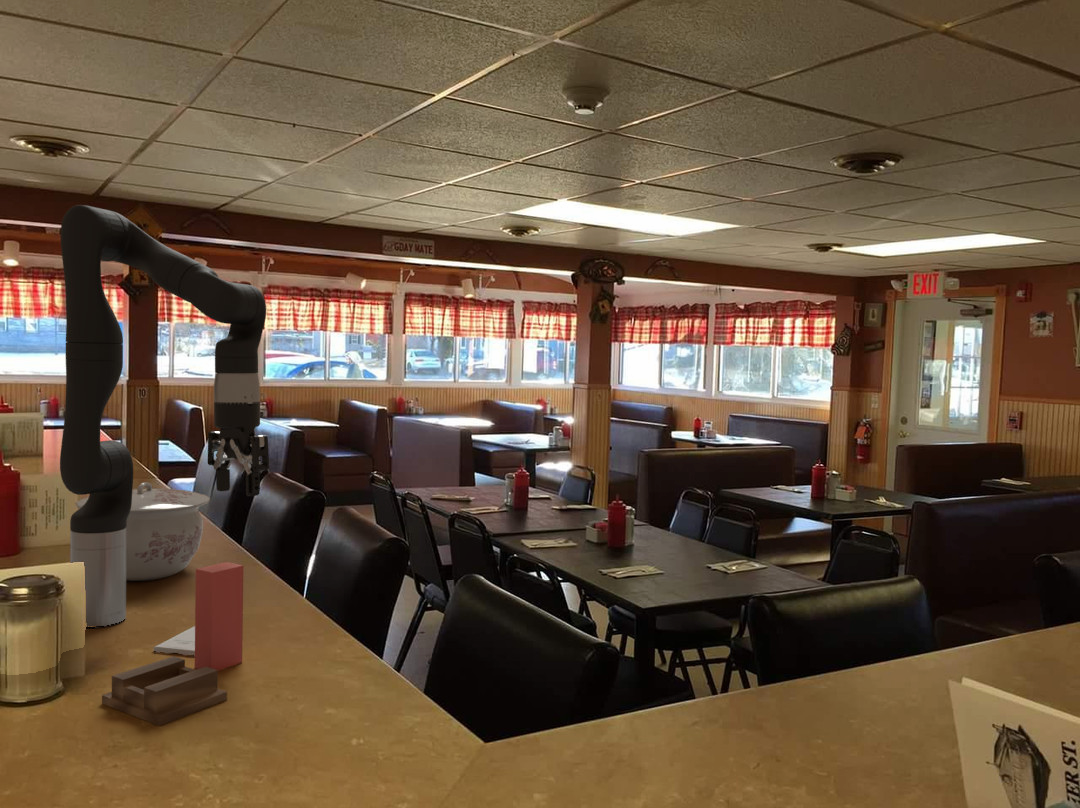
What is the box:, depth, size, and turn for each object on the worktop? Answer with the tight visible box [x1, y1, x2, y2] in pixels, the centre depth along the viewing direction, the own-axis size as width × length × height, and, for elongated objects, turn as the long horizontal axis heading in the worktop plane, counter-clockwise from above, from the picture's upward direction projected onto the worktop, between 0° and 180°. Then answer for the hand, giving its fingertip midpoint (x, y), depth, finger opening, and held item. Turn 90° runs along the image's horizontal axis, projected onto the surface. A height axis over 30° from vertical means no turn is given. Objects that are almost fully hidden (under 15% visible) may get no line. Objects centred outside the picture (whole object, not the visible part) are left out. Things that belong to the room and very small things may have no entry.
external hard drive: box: [153, 625, 195, 657], centre depth 150 cm, size 2×8×12 cm
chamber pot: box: [74, 481, 211, 582], centre depth 194 cm, size 28×28×21 cm
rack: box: [101, 656, 228, 727], centre depth 125 cm, size 13×11×4 cm
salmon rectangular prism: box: [194, 561, 245, 672], centre depth 139 cm, size 4×6×16 cm, turn 149°
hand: (237, 493), depth 150 cm, fingers open, 8 cm apart
